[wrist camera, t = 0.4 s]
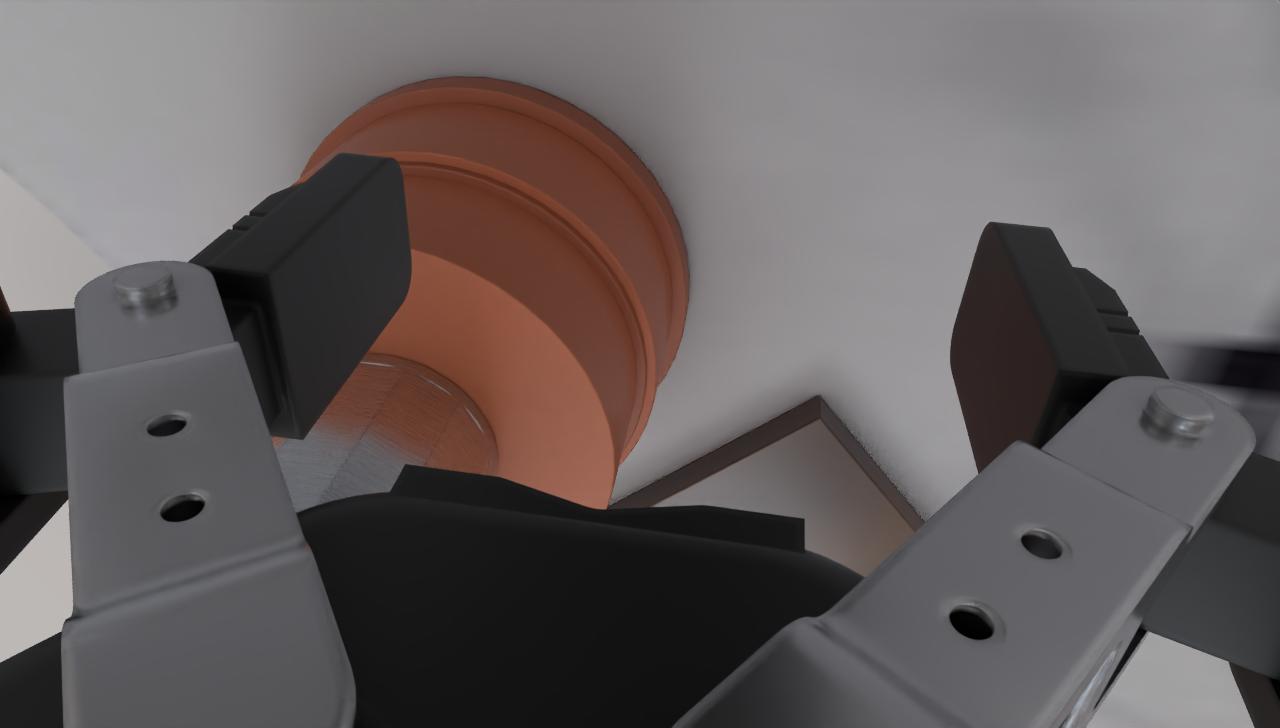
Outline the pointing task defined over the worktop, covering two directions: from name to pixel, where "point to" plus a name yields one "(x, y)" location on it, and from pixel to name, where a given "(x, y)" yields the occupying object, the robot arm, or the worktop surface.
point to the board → (799, 486)
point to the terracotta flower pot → (530, 271)
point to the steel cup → (385, 433)
